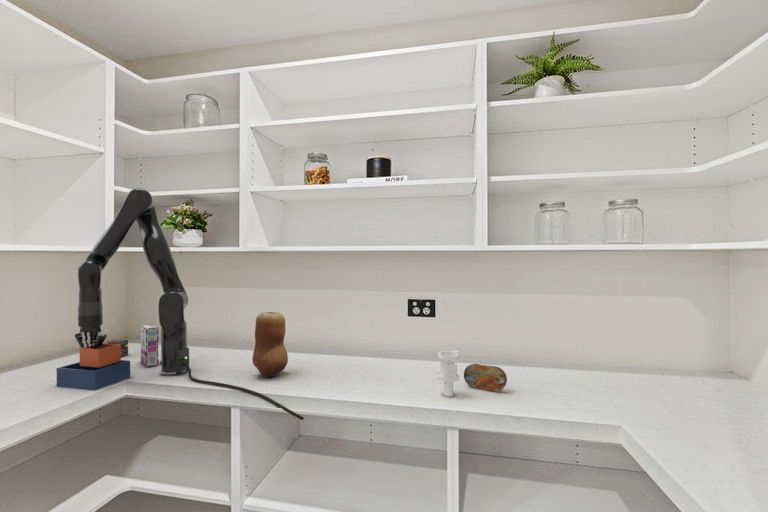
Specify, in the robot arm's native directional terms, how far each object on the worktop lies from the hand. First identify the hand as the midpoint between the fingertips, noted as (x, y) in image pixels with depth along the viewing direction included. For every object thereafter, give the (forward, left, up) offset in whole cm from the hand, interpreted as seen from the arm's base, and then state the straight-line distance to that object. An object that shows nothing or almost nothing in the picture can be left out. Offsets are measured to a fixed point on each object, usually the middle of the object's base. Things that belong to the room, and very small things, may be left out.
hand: (90, 359), depth 152 cm
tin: (-144, -26, -9) cm, 147 cm away
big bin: (-2, 0, -8) cm, 9 cm away
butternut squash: (-62, -22, -9) cm, 67 cm away
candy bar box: (-2, -25, -9) cm, 27 cm away
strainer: (-132, -17, -9) cm, 134 cm away
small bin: (-4, 0, -2) cm, 4 cm away
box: (+23, -32, -9) cm, 40 cm away
